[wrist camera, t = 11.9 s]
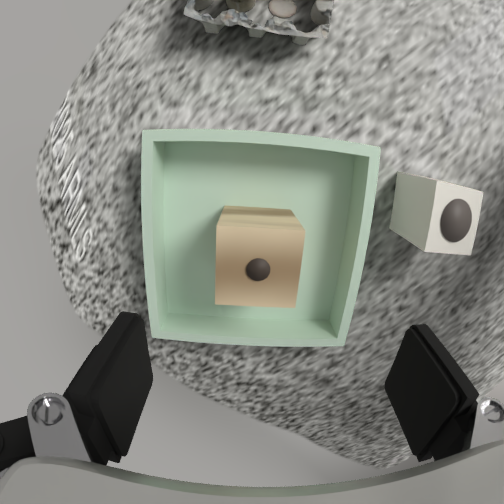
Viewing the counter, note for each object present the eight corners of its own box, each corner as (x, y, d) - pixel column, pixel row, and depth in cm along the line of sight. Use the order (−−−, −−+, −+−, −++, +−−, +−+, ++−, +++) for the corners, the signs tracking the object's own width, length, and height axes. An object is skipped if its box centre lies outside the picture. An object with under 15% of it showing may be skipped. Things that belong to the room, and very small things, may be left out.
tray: (157, 132, 21) (142, 130, 17) (362, 146, 21) (380, 147, 18) (161, 315, 26) (151, 337, 23) (334, 323, 27) (343, 345, 23)
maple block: (224, 205, 22) (216, 225, 16) (290, 209, 22) (305, 231, 16) (222, 267, 24) (214, 305, 18) (284, 270, 24) (295, 308, 18)
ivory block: (397, 171, 22) (437, 180, 16) (441, 180, 22) (484, 192, 16) (388, 228, 24) (425, 252, 18) (432, 233, 24) (471, 255, 18)
